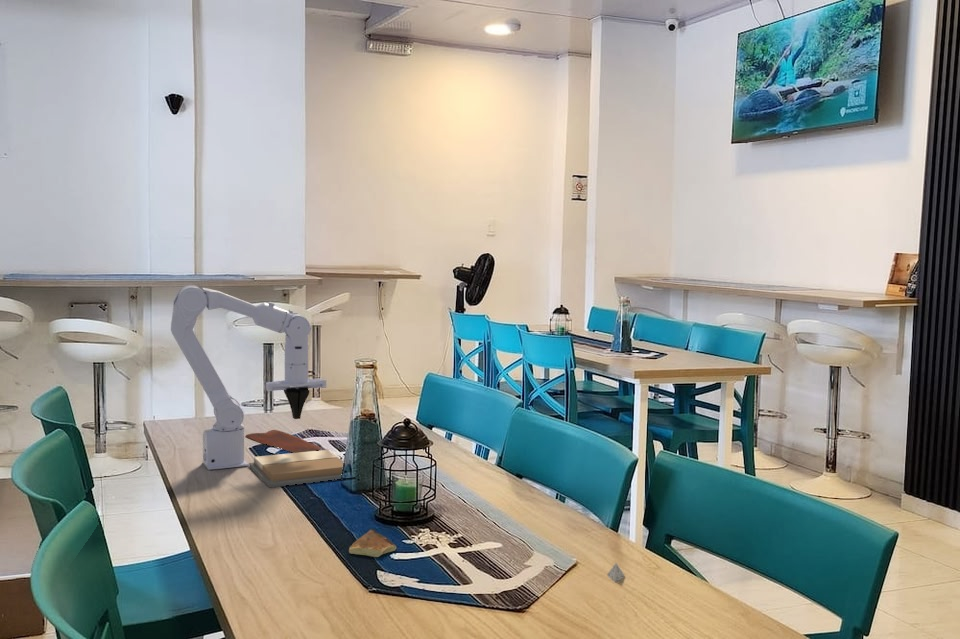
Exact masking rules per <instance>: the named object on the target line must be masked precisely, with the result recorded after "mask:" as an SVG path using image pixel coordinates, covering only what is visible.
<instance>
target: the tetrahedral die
mask: <svg viewBox="0 0 960 639" xmlns="http://www.w3.org/2000/svg"><path fill="white" fill-rule="evenodd" d="M606 576H607V577H608V578H610V580H612V581H613V582H614V583H615V582H619V581H620V580H622V579H624V578H626V575H625V574H624V572H623V571H622V569H621V568H620V567H619V565H618V564H617V563H616V562H615V564H614V565H613V566H612V567H611V569H609V571H608V572H607V574H606Z"/></svg>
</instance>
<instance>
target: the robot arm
mask: <svg viewBox="0 0 960 639" xmlns="http://www.w3.org/2000/svg"><path fill="white" fill-rule="evenodd" d="M172 306H173V307H172V313H171V314H172V315H171V322H170V331H171V335H172V336H173V338H174V339H175V341H176V343H177V345H178V346H179V349H180V350H181V352H182V354H183V355H184V357H185V359H186V361H187V362H188V364H189V366H190V368H191V370H192V372H193V373H194V375H195V376H196V379H197V380H198V381H199V383H200V385H201V387H202V388H203V391H204V392H205V394H206V395H207V398H208V400H209V401H210V403H211V406H212V407H213V414H214V417H215V420H216V421H215V423H214V424H213V425H212V428H211V429H204V431H203V433H202V464H203V465H204V466H205V467H206V468H207V470H208V471H211V470H221V469H230V468H240V467H249V463H250V462H249V463H248V461H247V460H246V459H245V424H244V423H243V422H244V419H245V417H244V416H245V413H244V411H243V408H241V405H240V402H239V401H238V400H237V399H236V398H234V397H233V396H232V395H230V393H229V391H228V389H227V388H226V386H225V385H224V383H223V381H222V379H221V378H220V375H219V374H218V372H217V370H216V369H215V367H214V365H213V363H212V361H211V360H210V358H209V356H208V354H207V353H206V351H205V348H204V347H203V346H202V344H201V342H200V340H199V338H198V337H197V335H196V333H195V331H194V328H195V325H196V323H197V319H198V318H199V316H200V315H201V314H202V313H203V311H204V310H205V309H206V308H207V310H208V311H211V310H215V309H216V310H217V309H224V310H227V311H230V312H234V313H237V314H240V315H243V316H246V317H249V318H252V320H253V322H254V325H255V326H257V327H262V328H264V329H266V330H270V331H273V332H276V333H279V334H283V333H284V334H285V336H284V337H285V344H284V380H277V381H268V382H265V391H267V392H273V391H274V392H275V391H283V393H284V394H285V397H286V399H287V401H288V404H289V406H290V410H291V415H292V416H291V417H292V418H293V419H294V420H300V419H301V417H302V416H301V415H302V412H303V409H304V405H305V402H306V401H307V398H308V397H309V395H310V389H320V388H321V389H326V388H327V379H325V378H321V379H320V378H315V379H313V378H309V351H310V350H309V347H310V346H309V335H310V333H311V330H312V327H311V324H310V322H309V320H308V319H307V318H306V317H305V316H303V315H300V314H299V313H297V312H294V310H293V309H292V310H291V309H288V310H287V309H283V308H281V307H278V306H276V304H275V303H274V302H272V301H269V302H268V303H267V302H262V303H259V304H253V303H251V302H248V301H246V300H243V299H240V298H238V297H235V296H233V295H229V294H227V293H225V292H222V291H219V290H215V289H211V288H207V287H202V288H200V287H199V286H198V285H194V284H187V285H184V286H182V288H180V289H179V290H178V292H177V294H176V297H175V298H174V300H173V305H172Z"/></svg>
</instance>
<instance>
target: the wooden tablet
mask: <svg viewBox="0 0 960 639" xmlns="http://www.w3.org/2000/svg"><path fill="white" fill-rule="evenodd" d="M245 437H246V438H248V439H250V440H252V441H255V442H258V443H260V444H264V445H266V444H267V445H266V446H269V445H270V446H269V447H272V446H274V447H273V448H275V447H279V448H282V449H284V450H287V451H290V452H289V453H291V452H293V453H299V452H309V451H315V450H319V449H321V448H322V447H320V446H319V447H318V445H316V444H314V443H312V442H309V441H307V440H304V439H302V438H301V437H298V436H296V435H293V434H290V433H287V432H284V431H281V430H277V429H272V430H268V431H267V432H253V433H248V434H245ZM284 450H283V451H284ZM287 451H286V452H287Z"/></svg>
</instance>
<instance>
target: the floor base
mask: <svg viewBox="0 0 960 639" xmlns="http://www.w3.org/2000/svg"><path fill="white" fill-rule="evenodd" d="M343 462H344V461H343V460H342V459H341V458H339V457H338V458H331V459H321V460H311V461H302V462H292V463H282V464H272V465H263V471H262V470H261V469H260V468H259V467H258V466H257V465H256V464H255V463H254V461H253V462H249V466H248V467H249V468H250V469H251V470H252V471H253V472H254V473H255V474H256V475H257V476H258V478H259V479H260V480H262V482H263V483H264V484H265V485H266V486H267V487H268V488H270V489H271V488H278V487H287V486H286V485H289V486H296V485H295V484H297V485H304V484H303V483H306V484H311V483H312V484H314V483H313V482H315V483H320V481H324V482H329V481H328V480H332V481H338V480H337V479H340V478H341V474H342V468H343ZM334 479H335V480H334Z"/></svg>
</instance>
